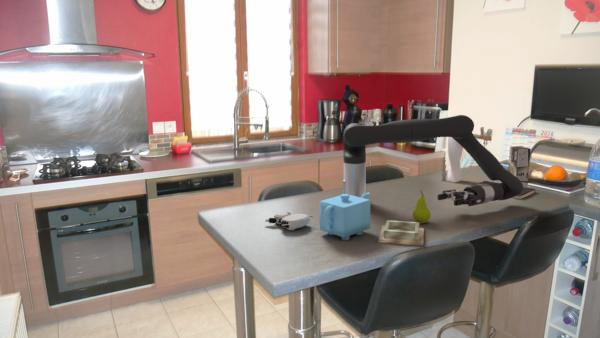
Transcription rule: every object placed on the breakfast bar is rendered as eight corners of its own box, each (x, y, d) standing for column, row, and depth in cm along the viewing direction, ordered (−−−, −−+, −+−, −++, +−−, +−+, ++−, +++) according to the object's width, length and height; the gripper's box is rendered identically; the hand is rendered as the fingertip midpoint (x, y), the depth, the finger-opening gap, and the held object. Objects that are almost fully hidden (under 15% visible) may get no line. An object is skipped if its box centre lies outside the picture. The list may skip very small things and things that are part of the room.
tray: (378, 242, 145) (378, 231, 145) (382, 227, 158) (382, 218, 158) (423, 245, 141) (423, 235, 141) (423, 230, 155) (424, 221, 154)
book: (520, 200, 189) (520, 195, 189) (468, 191, 206) (468, 186, 206) (535, 193, 200) (535, 188, 199) (484, 185, 217) (485, 180, 216)
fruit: (430, 225, 160) (432, 193, 157) (412, 225, 161) (414, 192, 158) (429, 220, 166) (430, 188, 163) (412, 219, 167) (413, 188, 165)
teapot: (338, 245, 144) (337, 203, 141) (314, 236, 152) (313, 197, 149) (381, 228, 158) (381, 190, 155) (357, 221, 166) (357, 185, 163)
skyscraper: (449, 178, 230) (452, 124, 224) (464, 181, 224) (468, 125, 218) (441, 181, 225) (443, 125, 219) (456, 184, 219) (459, 126, 213)
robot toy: (263, 228, 164) (291, 235, 153) (262, 216, 163) (290, 222, 152) (287, 220, 172) (316, 226, 162) (286, 208, 172) (315, 213, 161)
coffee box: (528, 181, 220) (531, 148, 216) (515, 181, 220) (517, 149, 217) (519, 177, 229) (522, 145, 225) (507, 177, 229) (509, 146, 226)
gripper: (465, 181, 178) (433, 186, 171) (494, 188, 165) (461, 194, 159) (464, 199, 180) (432, 205, 173) (493, 208, 167) (459, 215, 160)
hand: (446, 200), depth 166 cm, fingers open, 8 cm apart
